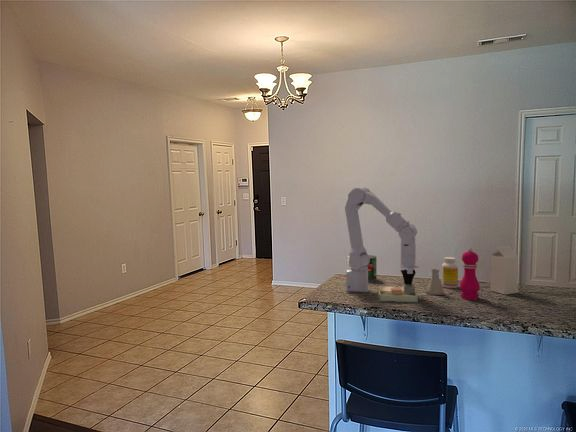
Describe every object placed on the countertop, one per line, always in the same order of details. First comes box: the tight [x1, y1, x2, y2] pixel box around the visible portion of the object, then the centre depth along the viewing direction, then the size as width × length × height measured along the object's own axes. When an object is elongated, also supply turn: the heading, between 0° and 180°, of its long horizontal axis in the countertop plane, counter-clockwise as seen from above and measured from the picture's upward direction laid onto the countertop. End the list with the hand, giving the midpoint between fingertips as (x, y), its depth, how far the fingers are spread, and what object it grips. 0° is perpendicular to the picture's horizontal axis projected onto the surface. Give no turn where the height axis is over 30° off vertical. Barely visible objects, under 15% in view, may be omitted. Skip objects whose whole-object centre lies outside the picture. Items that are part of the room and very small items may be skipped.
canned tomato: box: [367, 254, 378, 282], centre depth 199 cm, size 8×8×11 cm
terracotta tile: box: [391, 288, 402, 295], centre depth 161 cm, size 4×4×2 cm
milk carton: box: [490, 245, 519, 295], centre depth 170 cm, size 7×7×19 cm
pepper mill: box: [459, 247, 481, 301], centre depth 162 cm, size 7×7×20 cm
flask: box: [425, 268, 445, 296], centre depth 171 cm, size 7×7×10 cm
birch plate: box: [378, 285, 415, 296], centre depth 169 cm, size 14×8×2 cm, turn 80°
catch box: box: [378, 290, 419, 303], centre depth 162 cm, size 15×6×2 cm, turn 80°
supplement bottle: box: [441, 256, 459, 289], centre depth 181 cm, size 7×7×13 cm
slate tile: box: [402, 283, 416, 293], centre depth 164 cm, size 4×4×2 cm
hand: (408, 287), depth 168 cm, fingers closed
